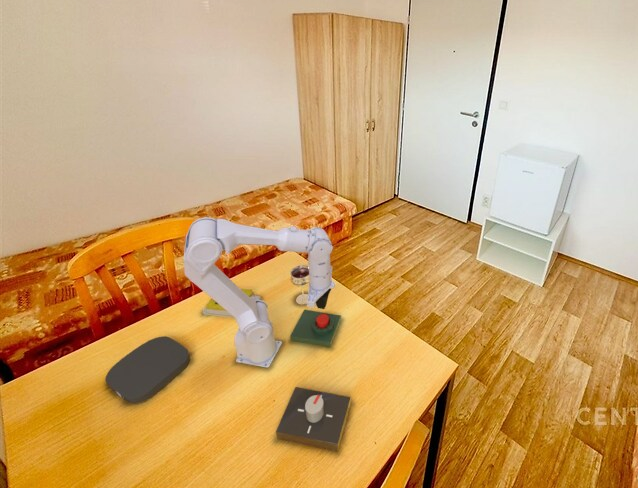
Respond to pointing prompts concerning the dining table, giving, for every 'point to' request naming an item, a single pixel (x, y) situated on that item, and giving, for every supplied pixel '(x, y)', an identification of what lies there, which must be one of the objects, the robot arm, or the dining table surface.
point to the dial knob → (314, 408)
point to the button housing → (315, 329)
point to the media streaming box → (147, 369)
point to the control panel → (320, 432)
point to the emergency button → (218, 310)
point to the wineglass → (300, 281)
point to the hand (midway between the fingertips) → (321, 306)
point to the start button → (322, 320)
